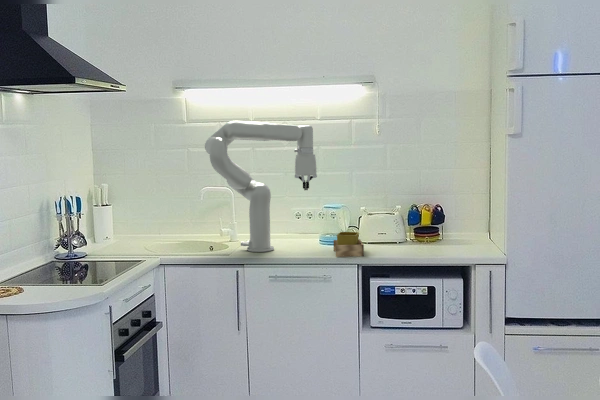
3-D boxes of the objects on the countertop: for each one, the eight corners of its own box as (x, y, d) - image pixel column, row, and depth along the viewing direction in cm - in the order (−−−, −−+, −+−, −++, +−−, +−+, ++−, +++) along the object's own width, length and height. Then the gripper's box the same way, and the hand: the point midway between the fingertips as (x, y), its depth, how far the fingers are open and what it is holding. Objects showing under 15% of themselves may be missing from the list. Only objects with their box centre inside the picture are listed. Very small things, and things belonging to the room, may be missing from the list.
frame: (335, 256, 285) (335, 245, 285) (333, 250, 300) (333, 240, 299) (363, 256, 285) (363, 244, 285) (360, 250, 300) (360, 239, 299)
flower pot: (356, 255, 288) (355, 235, 287) (336, 254, 290) (336, 234, 289) (359, 251, 296) (359, 232, 296) (340, 251, 299) (340, 231, 298)
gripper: (289, 152, 305) (290, 191, 307) (321, 151, 305) (322, 190, 307) (289, 151, 312) (290, 189, 314) (320, 151, 312) (321, 189, 314)
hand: (306, 190), depth 310 cm, fingers closed
